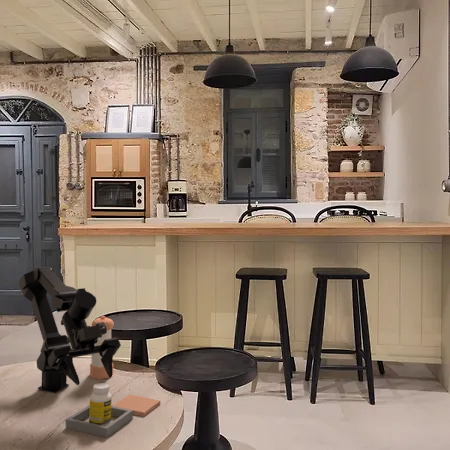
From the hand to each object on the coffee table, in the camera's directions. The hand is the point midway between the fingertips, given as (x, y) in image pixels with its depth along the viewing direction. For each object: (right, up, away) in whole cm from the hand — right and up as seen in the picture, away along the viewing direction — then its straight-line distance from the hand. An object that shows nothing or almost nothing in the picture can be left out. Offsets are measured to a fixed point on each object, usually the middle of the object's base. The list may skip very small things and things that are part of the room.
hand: (95, 380), depth 136 cm
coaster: (+9, -10, +9) cm, 16 cm away
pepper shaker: (-6, -8, +33) cm, 35 cm away
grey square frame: (+2, -10, -2) cm, 11 cm away
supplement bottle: (+2, -11, -2) cm, 11 cm away
